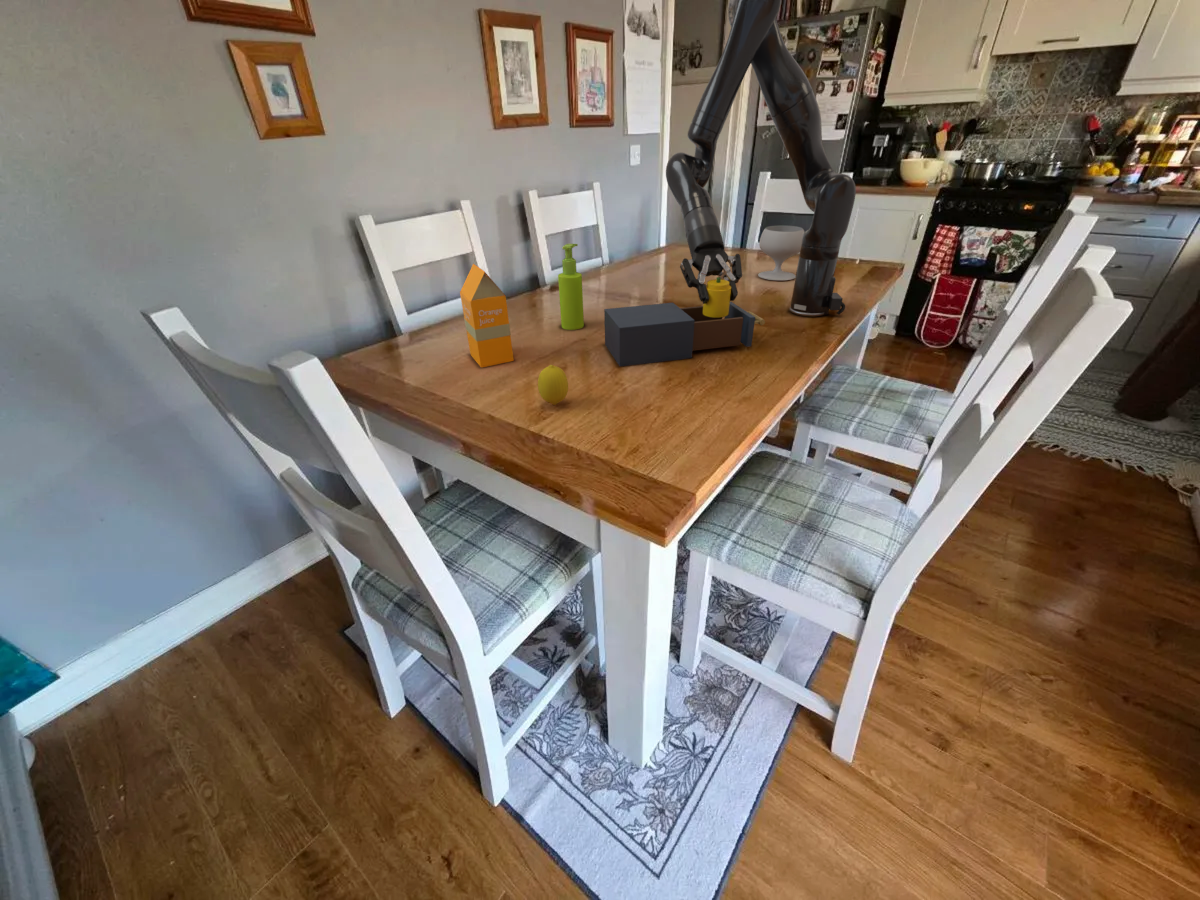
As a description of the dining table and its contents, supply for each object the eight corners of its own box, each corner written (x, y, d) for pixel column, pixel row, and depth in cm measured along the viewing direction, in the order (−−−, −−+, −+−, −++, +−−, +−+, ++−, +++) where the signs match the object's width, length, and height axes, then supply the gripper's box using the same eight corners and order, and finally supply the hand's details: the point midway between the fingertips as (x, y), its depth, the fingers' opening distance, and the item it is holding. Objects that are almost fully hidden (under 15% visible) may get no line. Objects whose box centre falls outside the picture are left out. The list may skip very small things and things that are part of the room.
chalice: (756, 281, 166) (763, 232, 158) (753, 271, 178) (759, 224, 170) (801, 282, 164) (811, 232, 156) (795, 272, 175) (803, 224, 167)
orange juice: (480, 367, 112) (465, 273, 101) (469, 354, 119) (454, 265, 108) (514, 360, 115) (503, 268, 104) (502, 348, 122) (490, 260, 111)
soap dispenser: (588, 322, 136) (585, 242, 125) (579, 330, 131) (575, 248, 120) (568, 320, 138) (563, 241, 127) (558, 328, 132) (552, 247, 122)
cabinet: (671, 337, 125) (672, 302, 120) (691, 358, 114) (694, 320, 109) (604, 344, 122) (604, 308, 117) (619, 366, 111) (619, 327, 106)
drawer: (744, 327, 127) (747, 299, 123) (768, 344, 117) (773, 315, 113) (668, 335, 124) (669, 307, 120) (686, 353, 113) (688, 323, 110)
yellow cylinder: (727, 309, 119) (731, 274, 114) (729, 317, 114) (733, 281, 110) (702, 309, 119) (704, 274, 115) (703, 317, 115) (706, 281, 110)
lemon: (540, 399, 98) (536, 360, 94) (568, 397, 99) (566, 358, 94) (539, 412, 94) (535, 372, 89) (569, 410, 94) (567, 370, 90)
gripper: (677, 225, 112) (694, 294, 109) (738, 220, 114) (757, 288, 111) (668, 246, 119) (684, 312, 116) (726, 241, 122) (743, 305, 118)
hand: (720, 300), depth 113 cm, fingers closed on yellow cylinder, 6 cm apart
